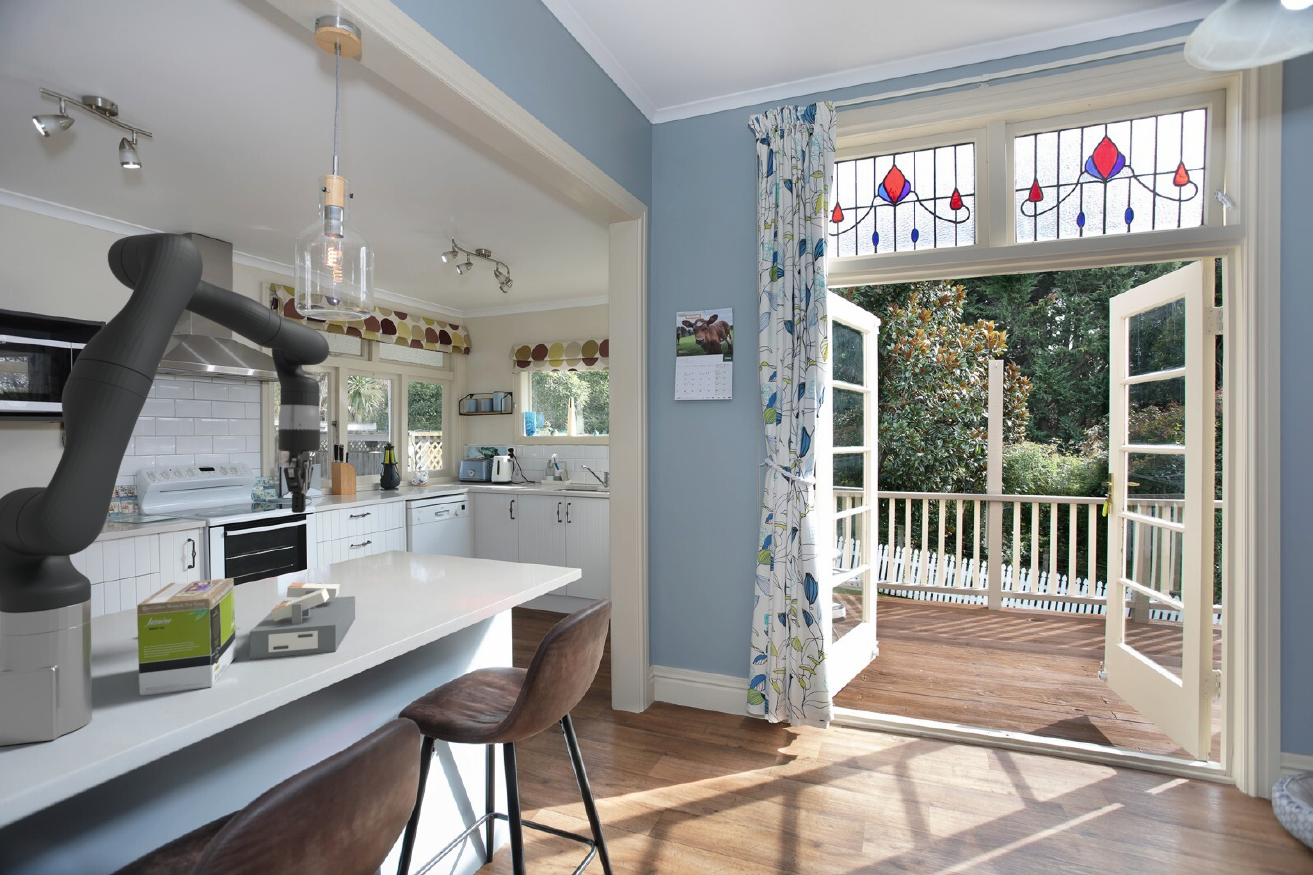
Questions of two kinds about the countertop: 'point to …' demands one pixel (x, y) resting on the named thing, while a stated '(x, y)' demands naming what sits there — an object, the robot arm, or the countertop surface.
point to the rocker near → (307, 602)
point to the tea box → (186, 636)
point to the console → (304, 629)
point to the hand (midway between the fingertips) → (298, 512)
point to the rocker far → (301, 588)
